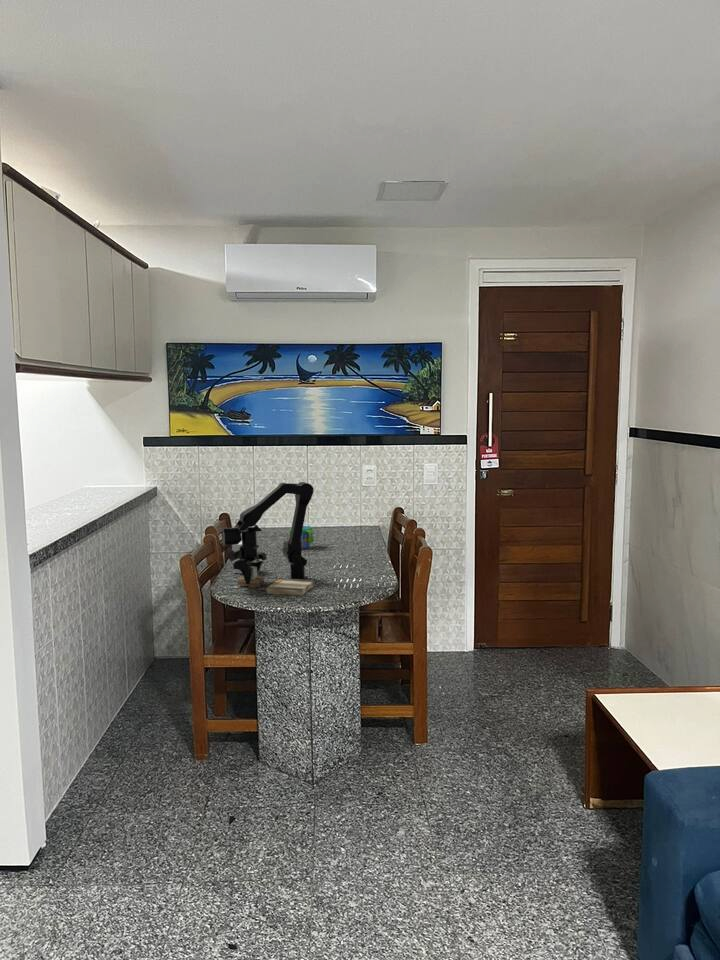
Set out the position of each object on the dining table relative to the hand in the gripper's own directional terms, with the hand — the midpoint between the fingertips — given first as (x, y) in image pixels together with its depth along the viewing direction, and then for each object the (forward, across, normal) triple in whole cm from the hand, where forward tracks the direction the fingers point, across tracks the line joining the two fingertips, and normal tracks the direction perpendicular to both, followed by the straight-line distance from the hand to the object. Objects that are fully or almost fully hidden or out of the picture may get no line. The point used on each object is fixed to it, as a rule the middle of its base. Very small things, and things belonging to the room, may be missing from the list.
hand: (251, 582), depth 281 cm
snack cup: (+2, -69, -5) cm, 69 cm away
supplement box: (+2, -20, -13) cm, 24 cm away
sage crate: (-2, 0, 0) cm, 2 cm away
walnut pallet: (+1, 0, 0) cm, 1 cm away
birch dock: (+1, +3, +18) cm, 18 cm away
